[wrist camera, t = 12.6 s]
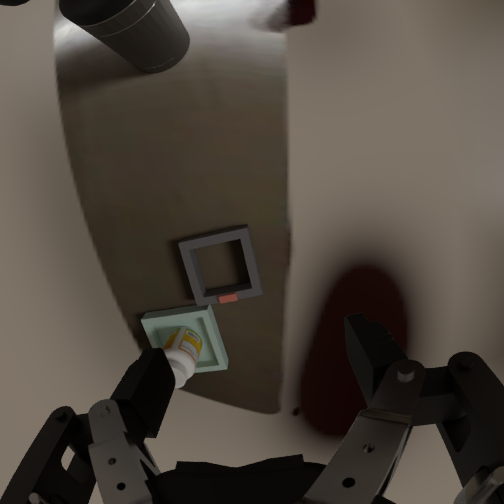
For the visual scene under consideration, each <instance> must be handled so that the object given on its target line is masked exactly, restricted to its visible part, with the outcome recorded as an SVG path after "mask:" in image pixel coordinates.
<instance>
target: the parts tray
mask: <svg viewBox="0 0 504 504" xmlns="http://www.w3.org/2000/svg"><path fill="white" fill-rule="evenodd" d="M141 322H142V324H143V327H144V329H145V332H146V334H147V336H148V339H149V341H150V343H151V345H152V348H159V347H160V348H162V349H163V348H164V346H165V344H166V342H167V340H168V338H169V336H170V334H171V333H172V331H173V330H174V329H176V328H178V327H183V326H184V327H190V328H192V329H194V330H196V331H197V332H198V333H199V334H200V336H201V338H202V342H203V345H202V349H201V352H200V355H199V358H198V361H197V365H196V368H195V371H194V373H196V372H207V371H216V370H224V369H227V367H228V361H229V360H228V357H227V354H226V351H225V348H224V345H223V342H222V339H221V336H220V333H219V330H218V327H217V324H216V321H215V318H214V314H213V311H212V308H211V305H204V306H198V307H197V305H193V306H187V307H181V308H174V309H168V310H162V311H155V312H148V313H145V315H144V316H143V317H142V319H141Z"/></svg>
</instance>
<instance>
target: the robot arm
mask: <svg viewBox="0 0 504 504" xmlns="http://www.w3.org/2000/svg"><path fill="white" fill-rule="evenodd" d="M28 1H29V0H0V5H6V6H18V5H21V4H24V3H26V2H28ZM59 8H60V11H61V13H62V14H63V16H64V17H66V18H67V19H68V20H70V21H71V22H73V23H74V24H76V25H78V26H79V27H81V28H82V29H84V30H85V31H86V32H88V33H89V34H91V35H93V36H94V37H95V38H97V39H98V40H100V41H101V42H103V43H104V44H105V45H107V46H108V47H110V48H111V49H112V50H114V51H115V52H116V53H118V54H119V55H121V56H122V57H123V58H125V59H126V60H127V61H128V62H130V63H131V64H133V65H134V66H135V67H137V68H138V69H139V70H141V71H144V72H148V73H156V72H161V71H164V70H167V69H169V68H171V67H172V66H174V65H175V64H177V63H178V62H179V61H180V60H181V59H182V58H183V56H184V55H185V54H186V52H187V50H188V47H189V43H190V38H189V34H188V32H187V30H186V28H185V27H184V25H183V23H182V21H181V19H180V18H179V16H178V14H177V12H176V11H175V9H174V7H173V6H172V4H171V2H170V0H59ZM344 322H345V335H346V348H347V354H348V358H349V361H350V363H351V366H352V368H353V370H354V373H355V375H356V377H357V380H358V382H359V385H360V387H361V389H362V392H363V395H364V397H365V400H366V402H367V405H368V409H367V410H365V409H363V410H362V411H361V412H360V413H359V415H358V416H357V418H356V420H355V422H354V423H353V426H352V427H351V428H350V430H349V432H348V434H347V435H346V437H345V438H344V440H343V442H342V443H341V445H340V446H339V448H338V449H337V451H336V453H335V454H334V456H333V457H332V459H331V460H330V462H329V463H328V465H324V464H320V463H312V462H304V460H303V455H302V454H299V455H292V456H285V457H278V458H270V459H266V460H263V461H260V462H256V463H253V464H249V465H245V466H241V467H236V468H235V467H228V466H222V465H218V464H213V463H208V462H182V461H177V464H176V468H175V469H174V470H170V471H166V472H164V473H161V472H160V470H159V468H158V467H157V465H156V463H155V461H154V459H153V457H152V455H151V453H150V452H149V449H148V448H147V445H146V444H145V443H144V439H145V438H156V437H157V434H158V431H159V429H160V426H161V423H162V420H163V418H164V415H165V412H166V409H167V407H168V404H169V401H170V398H171V396H172V393H173V391H174V388H175V384H176V380H175V375H174V372H173V370H172V368H171V366H170V364H169V361H168V359H167V357H166V355H165V352H164V351H163V349H162V348H160V347H159V348H148V349H144V351H143V352H142V354H141V356H140V357H139V359H138V360H136V361H135V362H134V363H133V364H132V365H130V366H129V368H128V370H127V371H126V373H125V375H124V376H123V377H122V379H121V381H120V383H119V384H118V386H117V387H116V389H115V391H114V392H113V394H112V396H111V398H110V399H105V400H101V401H99V402H97V403H95V404H94V405H93V406H92V407H91V408H90V410H89V412H88V413H86V414H80V415H76V413H75V412H74V411H73V409H72V408H71V407H68V406H63V407H60V408H58V409H56V410H54V411H53V412H52V413H51V415H50V416H49V418H48V419H47V421H46V422H45V424H44V425H43V427H42V429H41V430H40V432H39V433H38V435H37V436H36V438H35V440H34V441H33V443H32V444H31V446H30V448H29V450H28V451H27V453H26V454H25V456H24V458H23V459H22V461H21V463H20V465H19V466H18V468H17V470H16V472H15V473H14V475H13V477H12V479H11V481H10V482H9V485H8V486H7V488H6V490H5V492H4V494H3V496H2V498H1V500H0V504H88V503H89V500H90V497H91V494H92V492H93V489H94V486H95V484H96V481H97V483H98V487H99V490H100V494H101V497H102V500H103V503H104V504H396V503H394V502H392V501H390V500H388V499H386V498H385V497H383V495H384V494H385V492H386V490H387V488H388V486H389V484H390V482H391V480H392V478H393V475H394V473H395V471H396V468H397V466H398V463H399V461H400V459H401V456H402V454H403V452H404V449H405V447H406V444H407V442H408V439H409V437H410V434H411V432H412V429H413V426H420V425H428V424H436V426H437V428H438V430H439V432H440V434H441V436H442V439H443V441H444V443H445V445H446V448H447V450H448V452H449V455H450V457H451V459H452V462H453V464H454V467H455V469H456V471H457V474H458V477H459V479H460V482H461V484H462V487H463V489H462V490H461V492H460V493H459V494H458V495H457V497H456V499H455V501H454V504H504V386H503V384H502V383H501V382H500V380H499V379H498V378H497V377H496V375H495V374H494V373H493V372H492V370H491V369H490V368H489V367H488V366H487V364H486V363H485V362H484V361H483V360H482V358H481V357H480V356H478V355H477V354H475V353H472V352H459V353H457V354H454V355H453V356H452V357H451V358H450V359H449V361H448V365H447V366H444V367H437V368H425V367H424V366H423V365H422V363H420V362H418V361H416V360H413V359H408V357H407V356H406V354H405V353H404V352H403V350H402V349H401V347H400V346H399V344H398V343H397V342H396V340H394V337H393V336H392V335H391V334H390V332H389V331H388V329H387V328H386V326H385V325H383V324H381V323H379V322H378V321H372V322H368V321H367V319H366V318H365V316H364V315H363V313H362V312H361V313H357V314H353V315H349V316H345V318H344ZM67 446H69V447H70V448H71V449H72V451H73V452H74V453H75V455H74V456H73V458H72V461H71V463H70V465H69V467H68V469H67V471H66V470H65V469H64V468H63V466H62V463H61V458H62V456H63V454H64V452H65V450H66V448H67Z"/></svg>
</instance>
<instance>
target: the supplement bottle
mask: <svg viewBox="0 0 504 504" xmlns="http://www.w3.org/2000/svg"><path fill="white" fill-rule="evenodd" d="M202 345H203V342H202V338H201V336H200V334H199V333H198V332H197V331H196V330H194V329H192V328H190V327H184V326H183V327H178V328H176V329H174V330H173V331H172V333H171V334H170V336H169V338H168V340H167V342H166V344H165V346H164V348H163V351H164V352H165V355H166V357H167V359H168V361H169V364H170V366H171V368H172V370H173V372H174V375H175V380H176V384H175V388H180V387H182V386H183V385H184V384H185V382H186V380H187V379H188V378H190V377H191V376H192V375H193V373H194V371H195V368H196V365H197V361H198V358H199V355H200V352H201V349H202Z"/></svg>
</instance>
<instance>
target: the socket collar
mask: <svg viewBox="0 0 504 504" xmlns="http://www.w3.org/2000/svg"><path fill="white" fill-rule="evenodd" d="M237 239H240V240H241V244H242V248H243V252H244V256H245V260H246V265H247V269H248V273H249V277H250V281H251V282H249V283H244V284H238V285H233V286H228V287H223V288H217V289H212V290H206V288H205V285H204V282H203V278H202V275H201V271H200V268H199V264H198V261H197V257H196V254H195V250H194V249H195V248H200V247H204V246H209V245H214V244H218V243H223V242H227V241H232V240H237ZM178 244H179V248H180V251H181V255H182V258H183V262H184V265H185V269H186V272H187V275H188V278H189V282H190V285H191V288H192V291H193V294H194V298H195V301H196V304H197V307H198V306H204V305H210V304H215V303H226V302H231V301H237V300H238V299H243V298H249V297H254V296H259V295H263V286H262V282H261V278H260V273H259V269H258V264H257V260H256V256H255V251H254V247H253V243H252V238H251V234H250V230H249V225H248V224H247V225H242V226H238V227H233V228H229V229H224V230H220V231H215V232H211V233H207V234H202V235H198V236H193V237H189V238H185V239H182V240H181V241H180V242H179V243H178Z"/></svg>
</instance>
